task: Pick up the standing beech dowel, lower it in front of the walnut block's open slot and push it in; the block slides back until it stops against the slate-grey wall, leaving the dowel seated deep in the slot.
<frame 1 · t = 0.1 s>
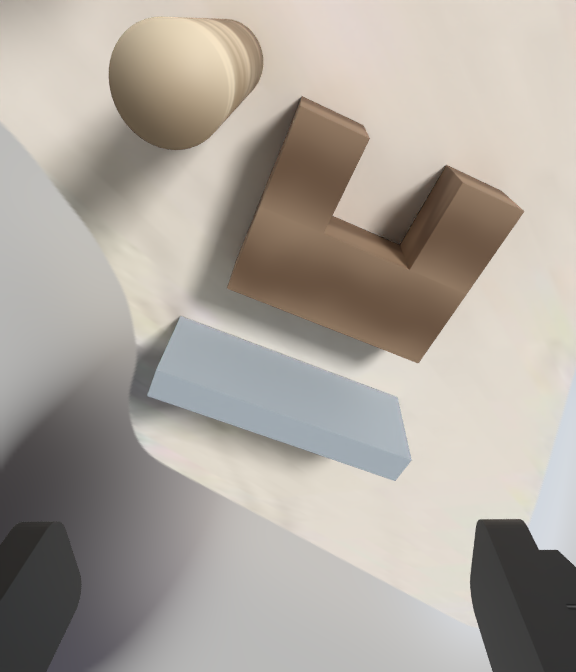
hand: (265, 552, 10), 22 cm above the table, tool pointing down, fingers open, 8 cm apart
wall: (287, 369, 35), on the table
dowel: (227, 61, 25), on the table
block: (364, 239, 28), point 2 cm above the table, slide at 0.0 cm
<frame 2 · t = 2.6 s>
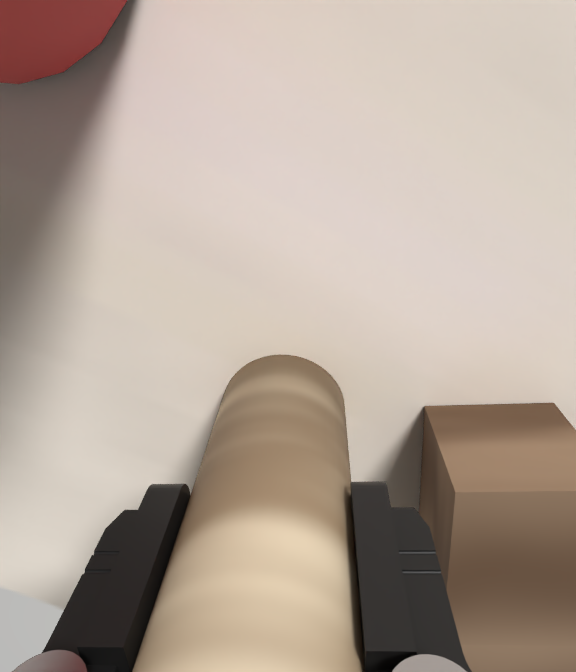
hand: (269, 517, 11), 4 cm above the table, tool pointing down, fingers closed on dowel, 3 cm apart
dowel: (283, 409, 14), on the table, touching gripper
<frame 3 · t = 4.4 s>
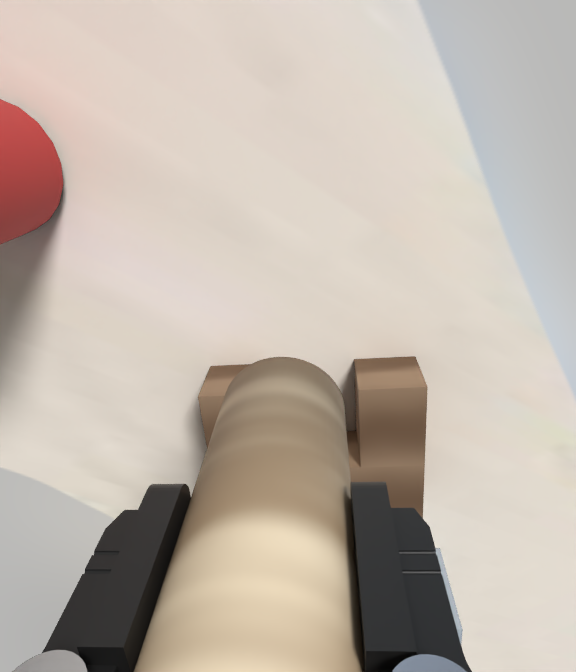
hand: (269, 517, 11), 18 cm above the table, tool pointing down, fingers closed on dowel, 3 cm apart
beer can: (7, 167, 26), on the table
wall: (325, 560, 36), on the table
dowel: (283, 411, 15), point 14 cm above the table, touching gripper
block: (316, 449, 30), point 2 cm above the table, slide at 0.0 cm
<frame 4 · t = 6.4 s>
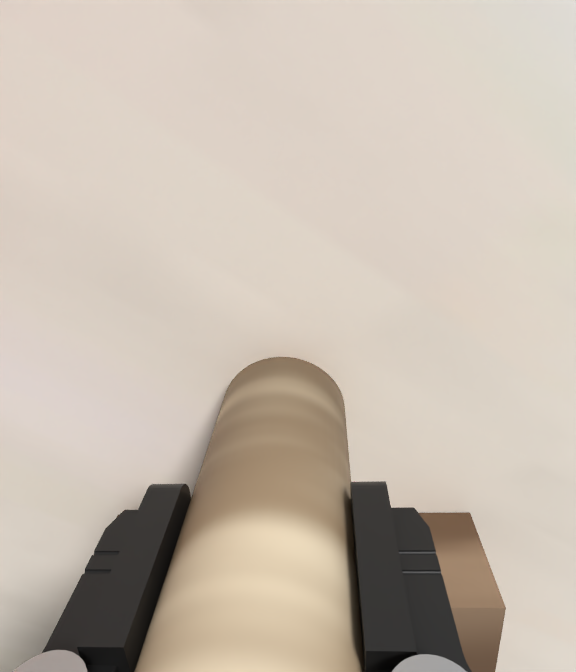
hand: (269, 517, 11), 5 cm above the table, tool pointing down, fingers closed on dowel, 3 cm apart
dowel: (283, 411, 15), point 1 cm above the table, touching gripper
block: (295, 660, 18), point 2 cm above the table, slide at 0.0 cm
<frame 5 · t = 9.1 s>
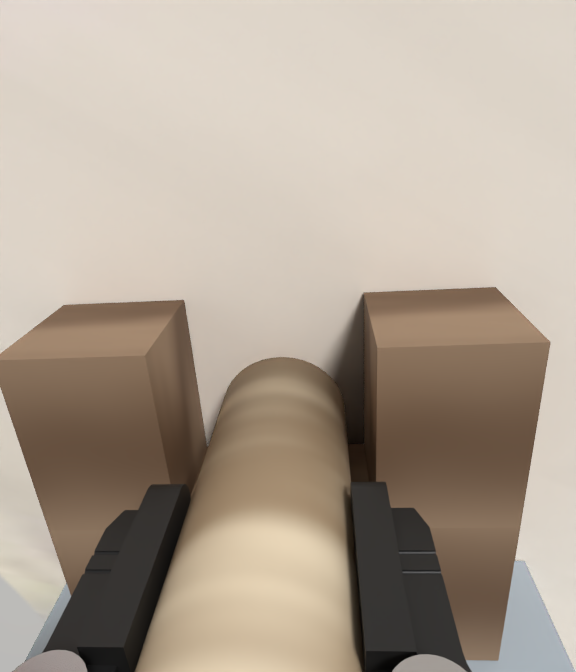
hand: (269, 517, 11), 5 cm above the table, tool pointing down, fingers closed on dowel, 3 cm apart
wall: (295, 581, 18), on the table
dowel: (283, 411, 15), point 1 cm above the table, touching block, gripper
block: (280, 482, 14), point 2 cm above the table, slide at 5.0 cm, touching dowel
when the fingers open (5 cm above the table, at t = 10.3 s): dowel stays where it is, on the table.
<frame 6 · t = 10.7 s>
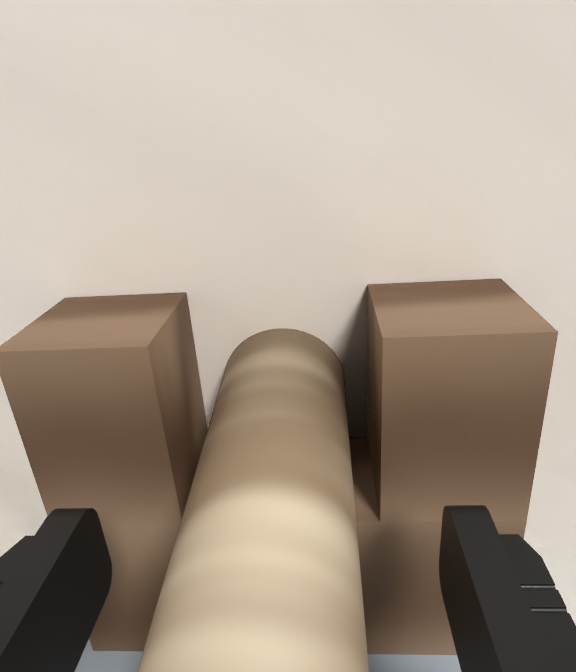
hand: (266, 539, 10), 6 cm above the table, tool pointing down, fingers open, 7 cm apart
wall: (298, 576, 18), on the table
dowel: (284, 381, 15), on the table
block: (284, 476, 14), point 2 cm above the table, slide at 5.0 cm, touching wall
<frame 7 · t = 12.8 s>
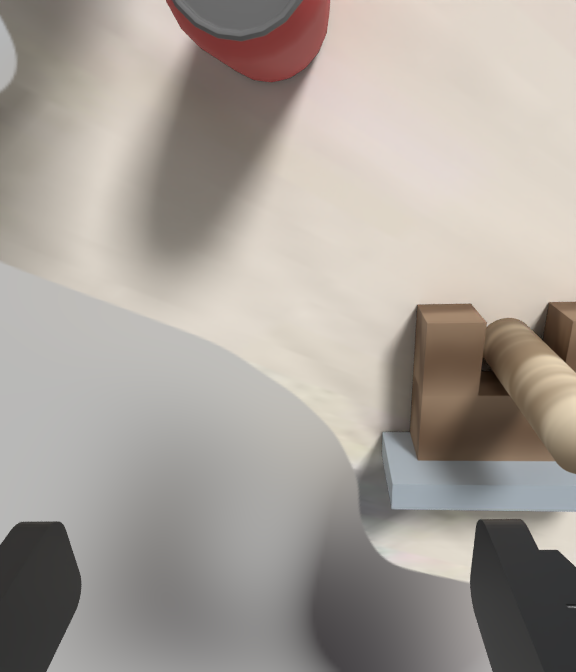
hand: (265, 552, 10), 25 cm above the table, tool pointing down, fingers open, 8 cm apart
beer can: (270, 17, 28), on the table
wall: (491, 443, 37), on the table
dowel: (505, 342, 34), on the table
block: (509, 382, 34), point 2 cm above the table, slide at 5.0 cm, touching wall
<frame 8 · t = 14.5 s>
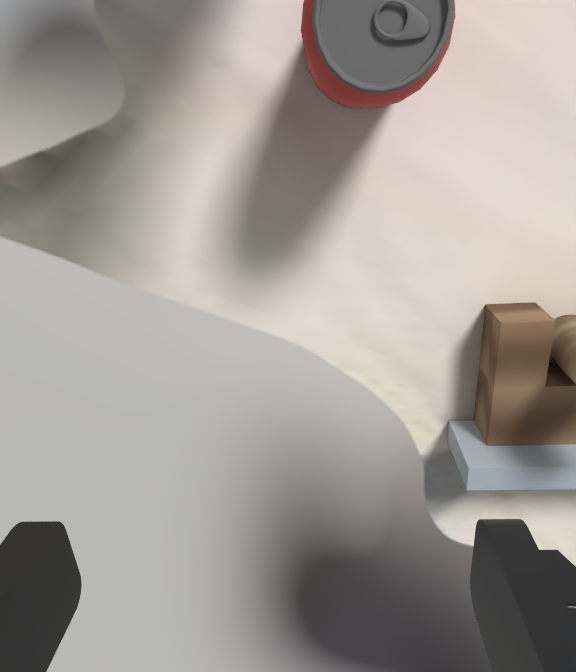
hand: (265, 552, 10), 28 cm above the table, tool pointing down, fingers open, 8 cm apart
beer can: (359, 49, 31), on the table
wall: (548, 428, 41), on the table
dowel: (565, 336, 38), on the table
block: (570, 373, 37), point 2 cm above the table, slide at 5.0 cm, touching wall
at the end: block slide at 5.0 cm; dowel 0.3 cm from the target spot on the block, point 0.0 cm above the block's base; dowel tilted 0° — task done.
